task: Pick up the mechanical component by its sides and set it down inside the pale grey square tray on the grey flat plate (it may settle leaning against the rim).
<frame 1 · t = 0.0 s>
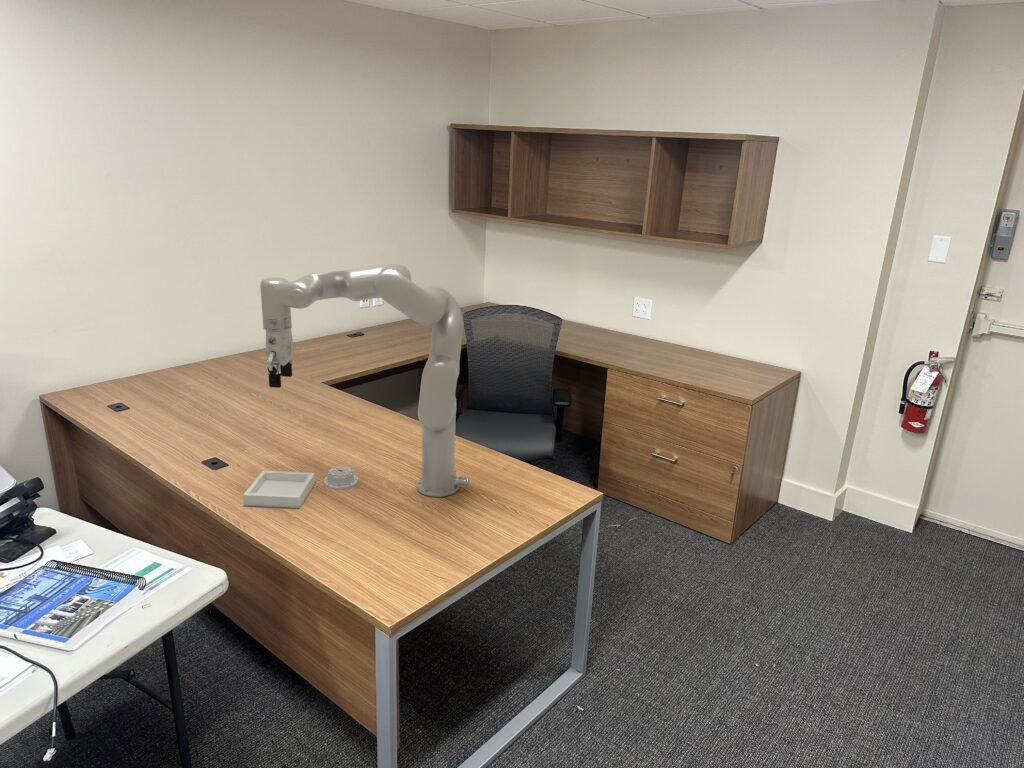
hand: (281, 381, 203), 31 cm above the table, fingers open, 9 cm apart
grey flat plate: (280, 494, 205), on the table
tray: (280, 493, 205), resting on grey flat plate
mechanical component: (341, 484, 213), on the table
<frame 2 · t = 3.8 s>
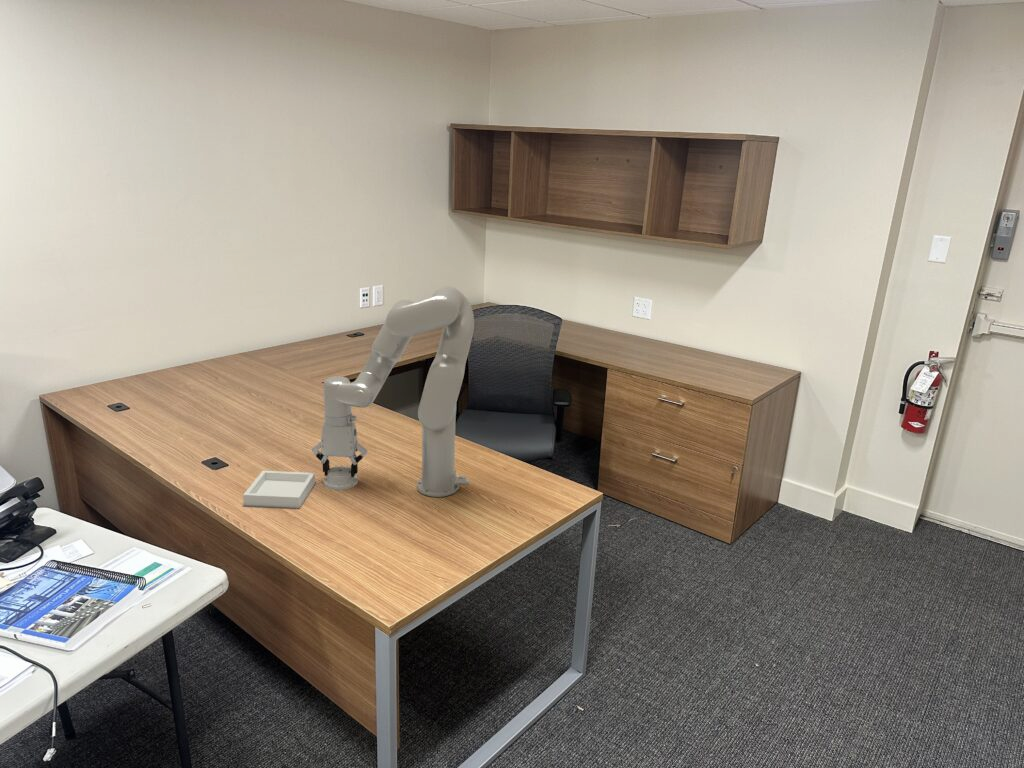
hand: (340, 474, 212), 3 cm above the table, fingers closed on mechanical component, 7 cm apart
mechanical component: (340, 484, 213), on the table, touching gripper
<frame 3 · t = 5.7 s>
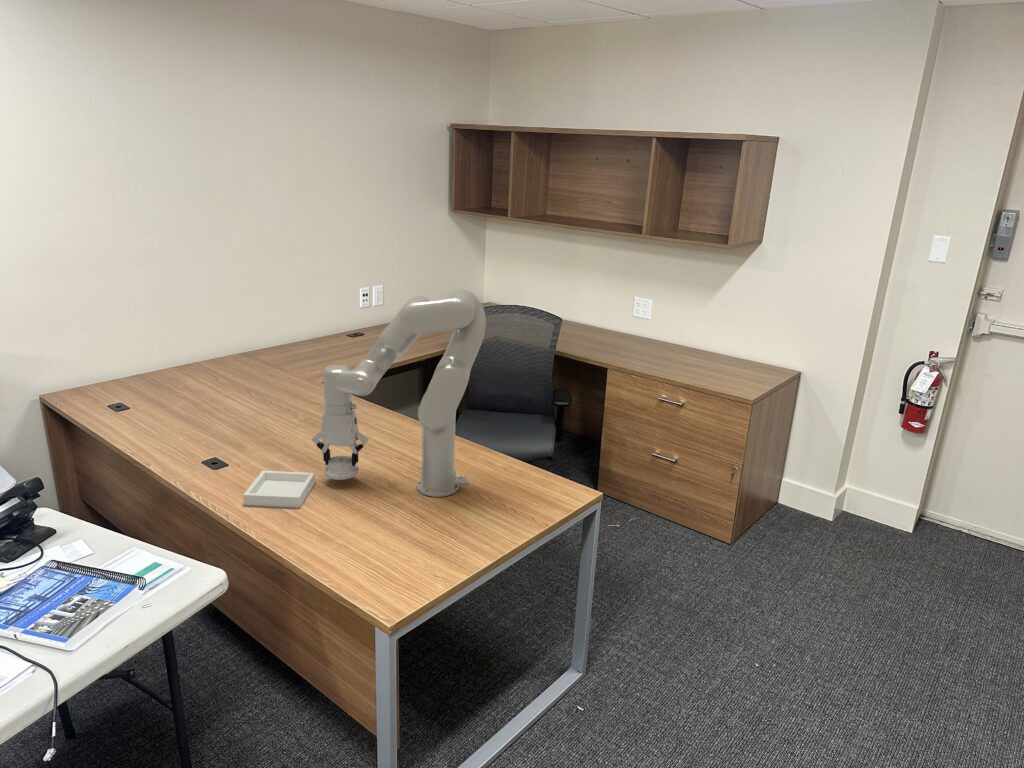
hand: (341, 463, 211), 6 cm above the table, fingers closed on mechanical component, 7 cm apart
mechanical component: (341, 473, 212), point 3 cm above the table, touching gripper
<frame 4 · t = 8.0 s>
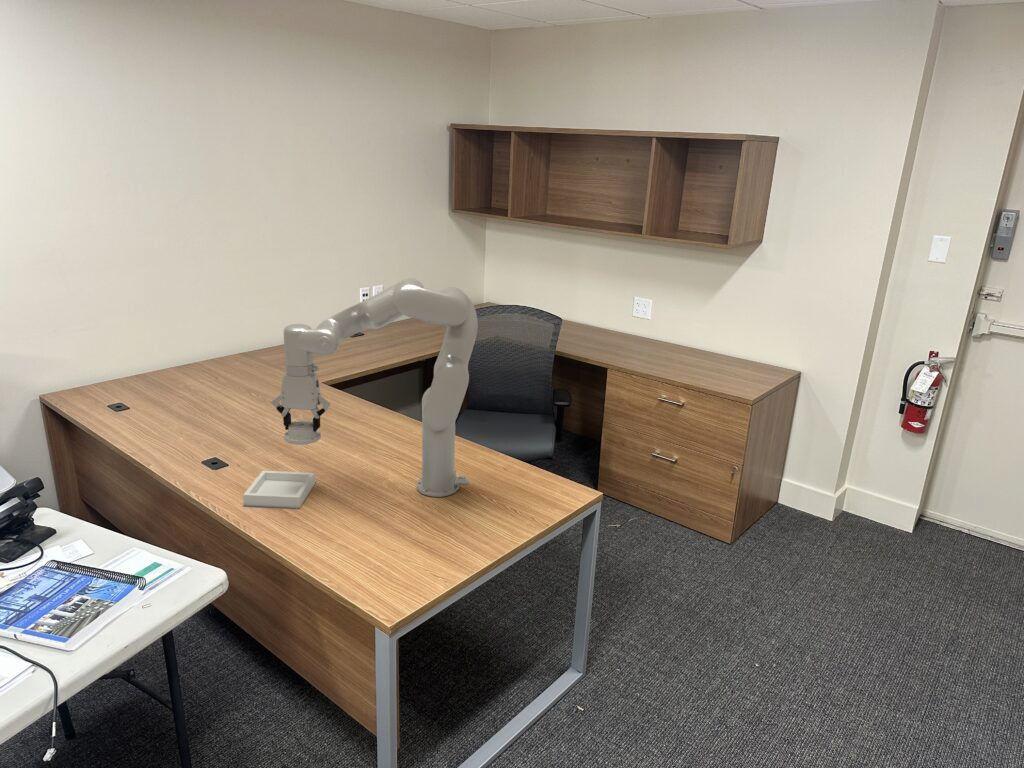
hand: (302, 428, 202), 19 cm above the table, fingers closed on mechanical component, 7 cm apart
mechanical component: (302, 439, 203), point 16 cm above the table, touching gripper
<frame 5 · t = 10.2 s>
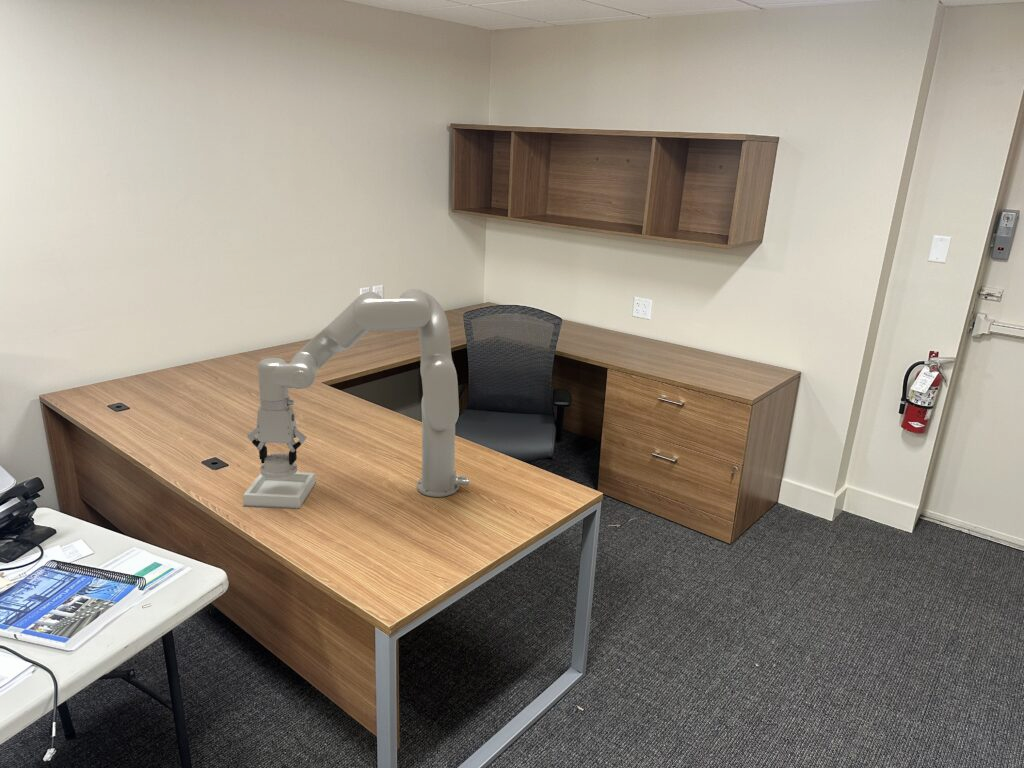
hand: (278, 461, 201), 10 cm above the table, fingers closed on mechanical component, 7 cm apart
mechanical component: (279, 472, 202), point 7 cm above the table, touching gripper
when the fingers open (5 cm above the table, at t = 12.1 s): mechanical component drops 1 cm, resting on tray.
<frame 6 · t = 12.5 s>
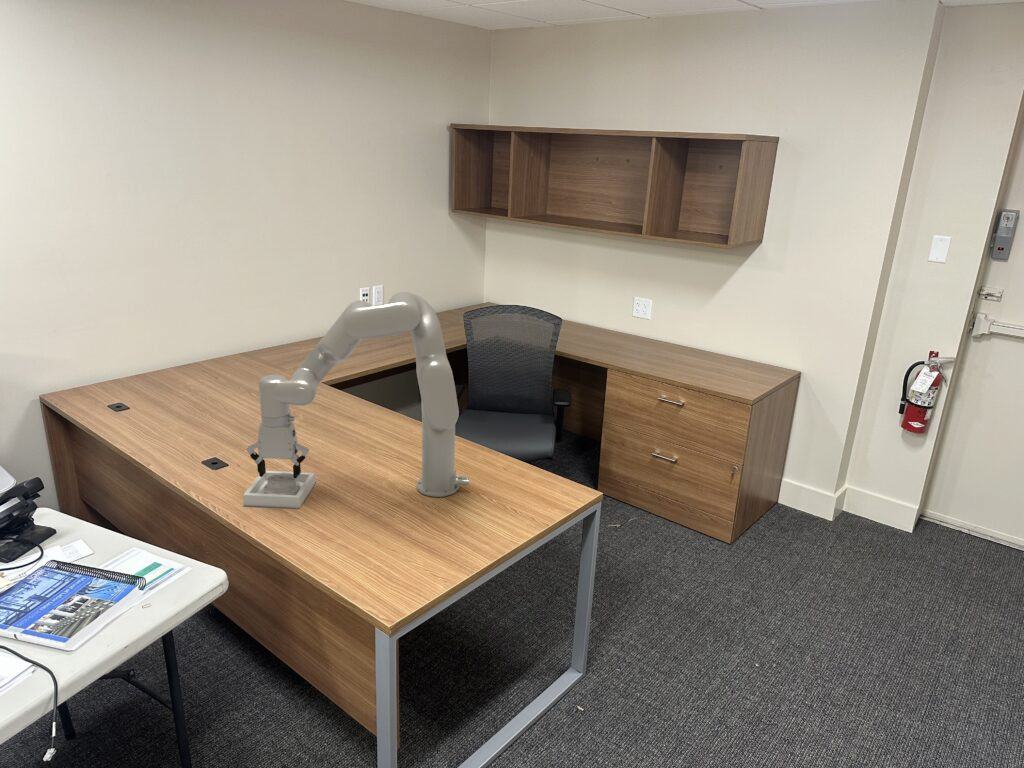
hand: (279, 475, 203), 6 cm above the table, fingers open, 9 cm apart
mechanical component: (282, 492, 204), point 1 cm above the table, touching tray
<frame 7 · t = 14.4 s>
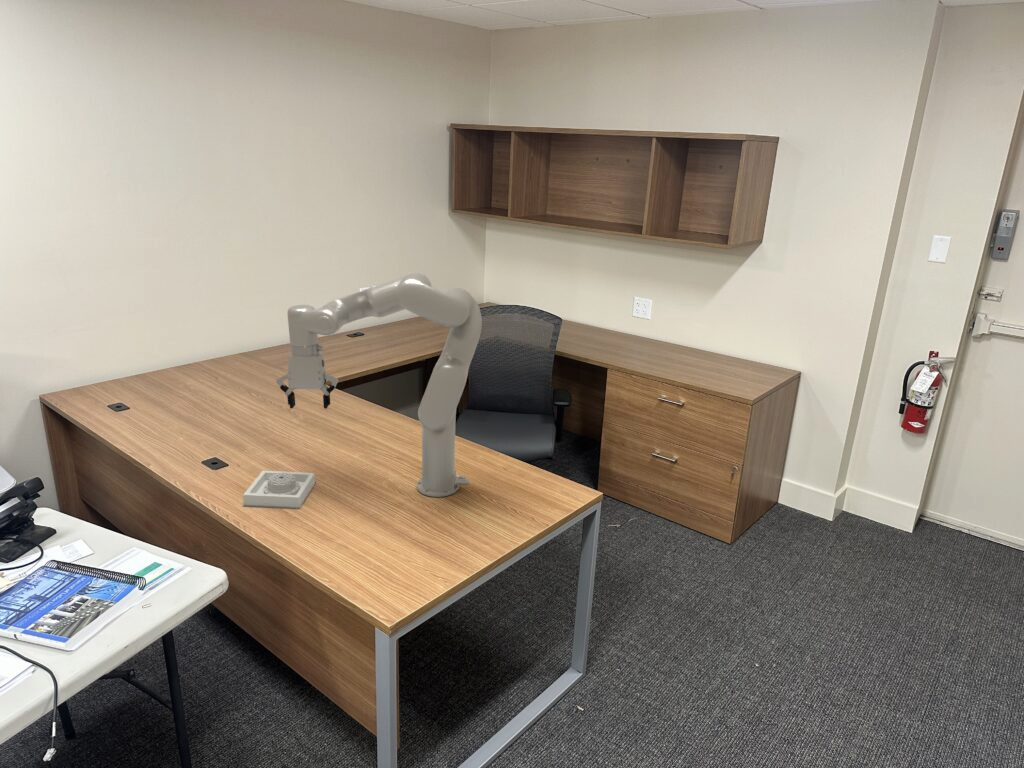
hand: (309, 407, 206), 24 cm above the table, fingers open, 9 cm apart
nothing on the table moved.
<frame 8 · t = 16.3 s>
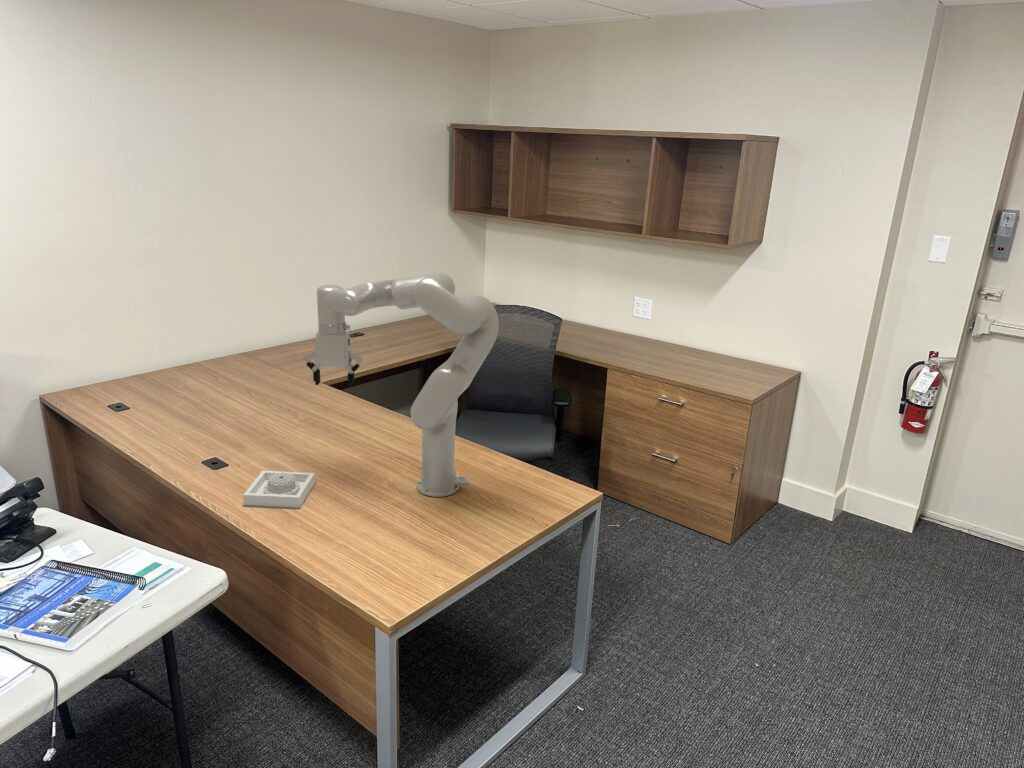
hand: (334, 384, 212), 28 cm above the table, fingers open, 9 cm apart
nothing on the table moved.
at the end: mechanical component inside the target area on the tray (0.4 cm from its centre), point 0.6 cm above the tray's base; the gripper is holding nothing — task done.
